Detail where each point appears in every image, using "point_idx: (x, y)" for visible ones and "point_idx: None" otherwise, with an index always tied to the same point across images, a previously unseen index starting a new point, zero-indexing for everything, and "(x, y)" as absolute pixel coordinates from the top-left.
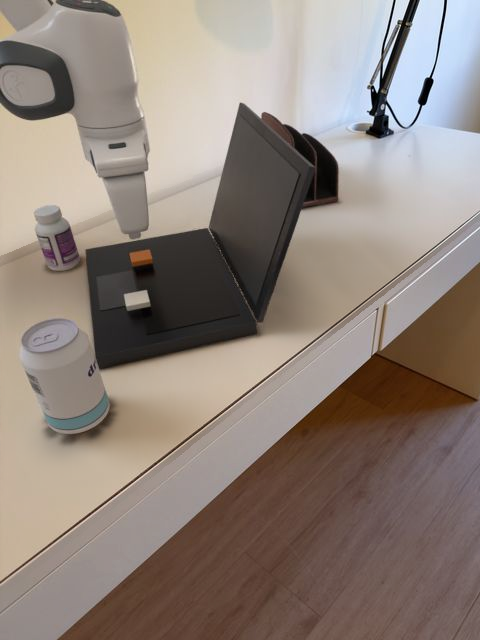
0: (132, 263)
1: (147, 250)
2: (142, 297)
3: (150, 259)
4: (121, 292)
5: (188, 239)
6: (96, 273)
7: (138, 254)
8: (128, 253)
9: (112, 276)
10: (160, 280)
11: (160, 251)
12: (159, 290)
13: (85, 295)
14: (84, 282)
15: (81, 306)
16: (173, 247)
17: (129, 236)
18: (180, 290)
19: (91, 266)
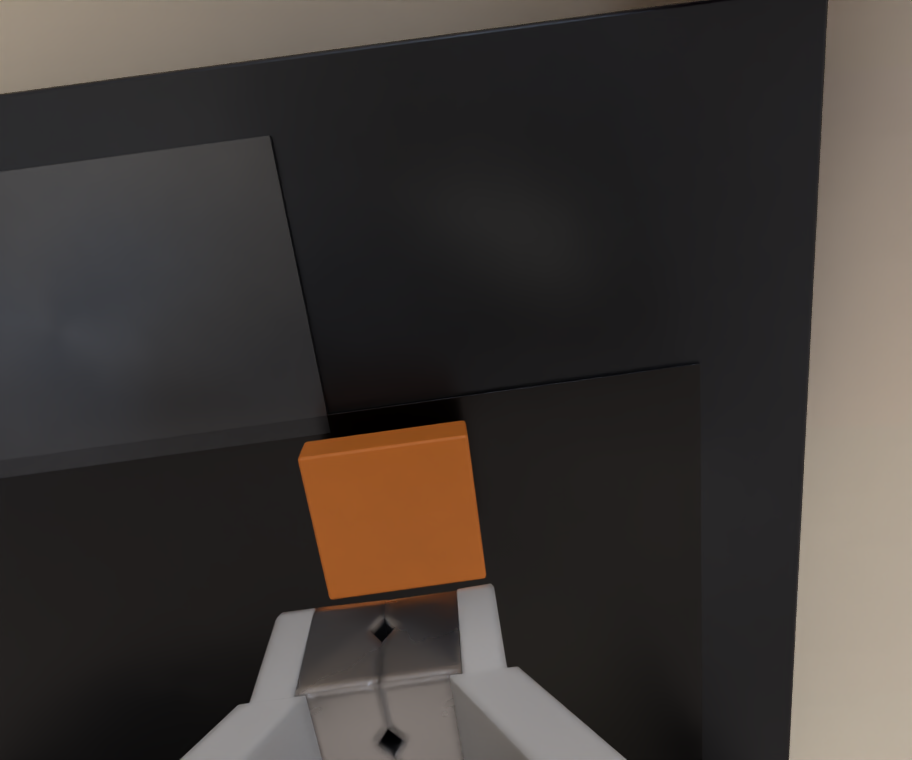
0: (301, 457)
1: (467, 566)
2: None
3: (328, 584)
4: (6, 353)
5: (667, 742)
6: (341, 130)
7: (417, 505)
8: (602, 377)
9: (258, 272)
10: (152, 596)
11: (557, 590)
12: (20, 593)
13: (211, 29)
14: (410, 3)
15: (54, 9)
16: (588, 663)
17: (274, 630)
18: (18, 701)
19: (476, 73)
